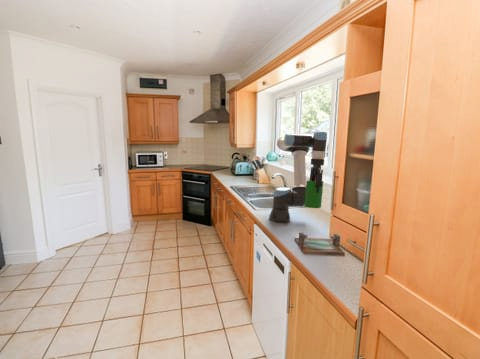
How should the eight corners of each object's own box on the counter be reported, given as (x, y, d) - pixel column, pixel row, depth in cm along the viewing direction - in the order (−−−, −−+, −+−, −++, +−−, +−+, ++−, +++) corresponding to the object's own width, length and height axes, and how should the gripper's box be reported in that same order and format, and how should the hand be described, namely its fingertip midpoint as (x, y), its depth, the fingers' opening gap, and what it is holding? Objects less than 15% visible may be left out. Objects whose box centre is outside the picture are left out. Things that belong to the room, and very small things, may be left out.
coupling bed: (294, 240, 153) (295, 227, 152) (330, 241, 155) (332, 229, 153) (303, 253, 135) (305, 240, 134) (344, 255, 137) (346, 241, 136)
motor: (309, 203, 162) (312, 172, 159) (323, 206, 157) (327, 173, 154) (302, 206, 154) (305, 173, 151) (316, 209, 149) (320, 174, 146)
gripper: (306, 156, 161) (302, 192, 165) (317, 159, 142) (313, 200, 145) (317, 157, 162) (314, 193, 165) (331, 160, 142) (326, 200, 146)
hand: (313, 196), depth 155 cm, fingers closed on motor, 7 cm apart
